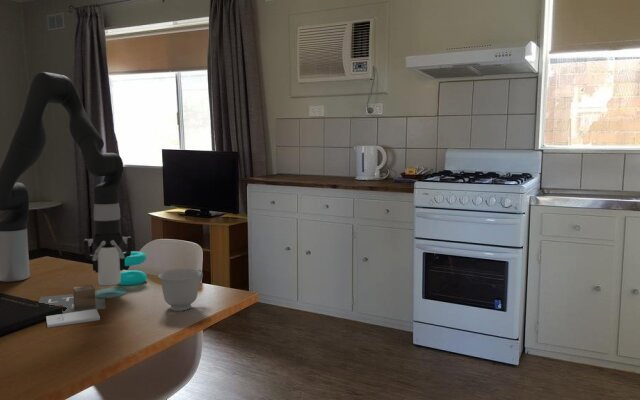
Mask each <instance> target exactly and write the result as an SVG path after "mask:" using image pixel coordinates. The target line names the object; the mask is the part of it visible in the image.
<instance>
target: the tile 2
mask: <svg viewBox="0 0 640 400" xmlns="http://www.w3.org/2000/svg"><path fill="white" fill-rule="evenodd" d="M95 305H96V306H91V307H85V308H78V309H76V307H75V305H74V301H69V302H64V305H63V307H66V308H67V309H66V310H65V311H63V310H62V311H61V312H62V313H61V314H65V313H72V312H78V311H85V310H92V309H97V310H102V309H103V310H105V309H106V298H95Z"/></svg>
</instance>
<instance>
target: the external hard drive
mask: <svg viewBox="0 0 640 400" xmlns="http://www.w3.org/2000/svg"><path fill="white" fill-rule="evenodd" d="M45 319H46V327H47V329H49V328H54V327H62V326H63V327H64V326H67V325H68V326H69V325H75V324H82V323H89V322H95V321H96V322H97V321H100V320H101V316H100V314H99V312H98V309H92V310H85V311H78V312H69V313H60V314H53V315H52V314H51V315H47V316H45Z"/></svg>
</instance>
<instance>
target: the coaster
mask: <svg viewBox="0 0 640 400" xmlns="http://www.w3.org/2000/svg"><path fill="white" fill-rule="evenodd" d="M127 293H128V289H126V288H123V287H108V288H107V287H106V288H102V289H97V290H95V299H98V298H105V299H111V298H112V299H113V298H119V297H122V296H125V295H126V294H127Z"/></svg>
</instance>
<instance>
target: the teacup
mask: <svg viewBox="0 0 640 400" xmlns="http://www.w3.org/2000/svg"><path fill="white" fill-rule="evenodd" d="M203 274H204V273H203V271H202V269H200V268H197V269H192V268H191V269H190V268H179V269H178V268H177V269H170V270H166V271H162V272H160V273H159V274H158V275H157V277H158V278H159V279H160V282H161V288H162V293H163V294H162V295H163V299H164V301H165V303H166V304H167V305H170V310H171V311H173V310H174V312H183V310H185V311H188V310H190V309H191V308H192V304H193V303H195V301H196V300H197V298H198V293H199V285H200V284H201V282H202V280H203V277H204V275H203ZM189 308H190V309H189ZM187 309H188V310H187Z"/></svg>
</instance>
